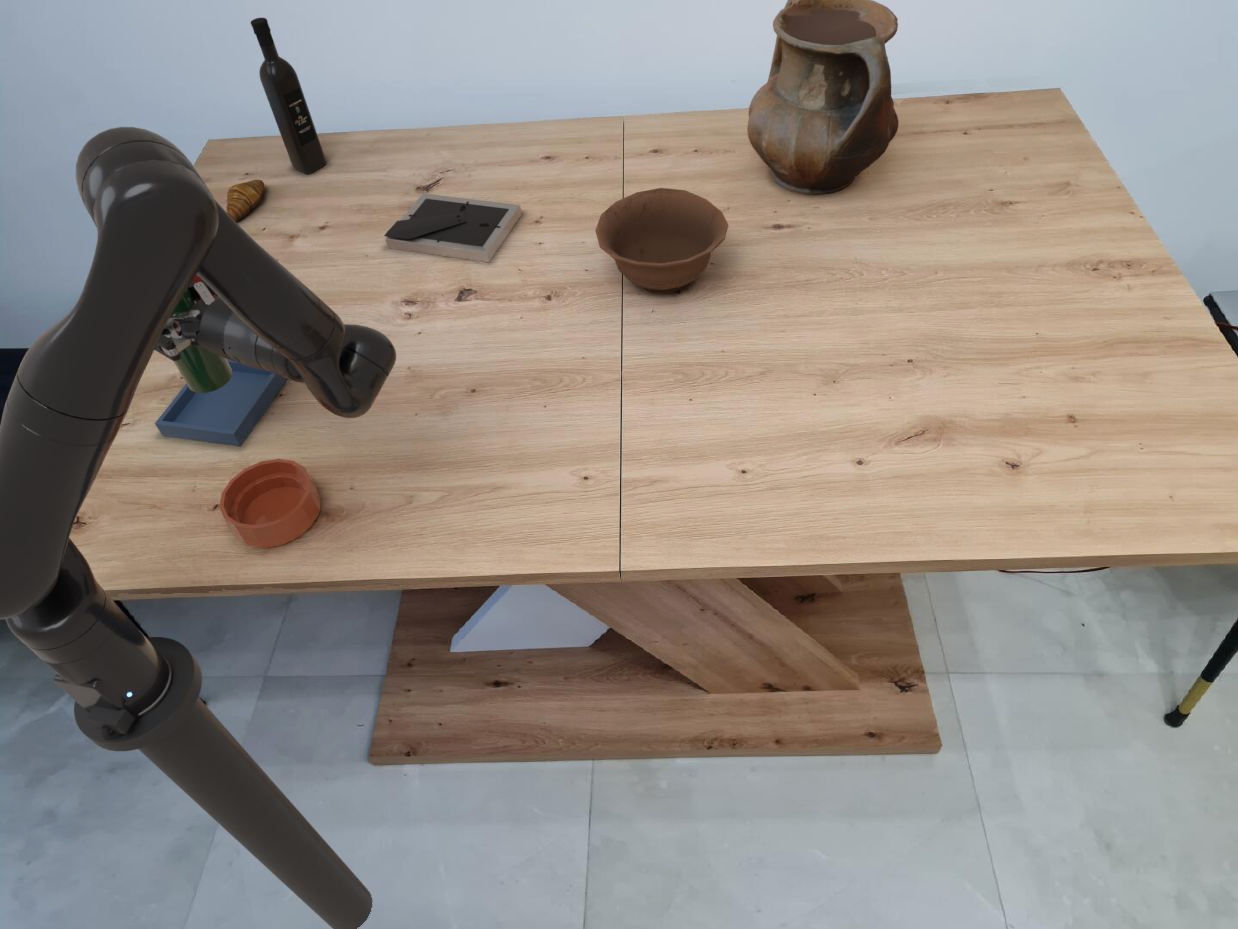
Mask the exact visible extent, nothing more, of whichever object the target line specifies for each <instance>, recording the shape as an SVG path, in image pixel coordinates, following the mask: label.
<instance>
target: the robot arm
mask: <svg viewBox="0 0 1238 929" xmlns="http://www.w3.org/2000/svg"><path fill="white" fill-rule="evenodd" d="M75 180H76V186H77V191H78V194H79V196H80V198H81V201H82V203H83V205H84V208H85V210H86V211H87V213H88V214H89V216H90V218H91V219H92V221H93V224H94V225H95V227H96V230H97V231H96V232H97V240H96V246H95V250H94V255H93V259H92V262H91V265H90V269H89V271H88V274H87V277H86V280H85V282H84V286H83V288H82V291H81V293H80V295H79V298H78V299H77V301H76V303H75V304H74V306H73V308H72V309H71V310H70V311H69V313H67V314H66V315H65V316H63V318H61V319H60V320H59V321H57V322H56V323H54V324H53V325H52V326H50V327H49V328H48V329H46V330H45V331H44V332H43V333H42V334H41V335H39V337H38V338H37V339H36V340H35V341H34V342H33V343H32V344H31V345H30V346H29V348H28V350H27V351H26V352H25V354H24V356H23V357H22V360H21V362H20V364H19V367H18V369H17V371H16V374H15V377H14V380H13V381H12V385H11V387H10V390H9V392H8V395H7V398H6V401H5V404H4V407H3V412H2V416H1V421H0V620H5V621H6V624H7V626H8V629H9V630H10V631H11V633H13V635H14V636H15V637H16V638H17V639H18V640H20V642H22V644H24V646H26V647H27V648H28V649H30V650H31V652H33V653H34V654H35V655H36V656H37V657H38V658H39V659H40V660H41V661H43V663H44V664H45V665H47V666H48V667H49V668H50V669H51V670H52V671H53V672H54V673H55V674H54V676H53V677H52V681H53V682H54V683H55V684H56V685H57V686H59V688H61V689H62V690H63V691H64V693H66V694H67V695H68V696H69V697H70V698H72V699H73V700H74V702H75V701H76V702H77V703H78V704H79V705H81V706H82V707H83V708H84V709H85V710H86V711H87V712H88V713H89V714H88V716H87V717H86V720H87V721H88V722H90V723H91V724H92V725H93V726H94V727H95V728H99V729H101V733H102V737H103V738H104V739H105V740H107V741H111V740H114V739H116V738H117V737H119V736H120V735H122V734H126V733H127V731H128V729H129V728H130V726H131V725H136V724H137V722H138V721H139V719H140V718H141V717H142V716H144V715H146V714H148V713H149V712H151V711H152V710H153V709H154V708H156V707H157V706H158V705H159V704H160V703H161V702H162V701H163V699H164V698H165V697H166V695H167V693H168V692H169V690H170V687H171V685H172V681H173V670H172V667H171V665H170V663H169V662H168V661H167V660H166V658H164V657H163V656H162V655H161V654H160V652H158V651H157V650H156V648H155V647H154V646H153V645H152V644H151V643H150V642H149V641H148V639H147V638H148V637H146V636H145V635H144V634H143V632H142V631H141V630H140V629H139V628H138V626H136V625H135V623H134V622H133V621H132V620H131V619H130V618H129V617H128V615H127V614H126V613H125V612H124V611H123V610H122V608H120V607H119V605H118V604H117V603H116V602H115V601H114V599H113V598H112V597H111V596H110V595H109V593H108V592H107V591H106V590H105V589H104V588H103V587H102V586H101V585H100V583H99V582H98V581H97V580H96V578H95V576H94V573H93V571H92V568H91V566H90V563H89V562H88V561H87V559H86V558H85V556H84V554H83V553H82V552H81V551H80V549H79V548H78V547H77V545H76V544H75V543H74V542H73V540H72V539H71V538H70V536H71V533H72V529H73V526H74V523H75V521H76V518H77V516H78V514H79V512H80V510H81V508H82V506H83V504H84V502H85V500H86V498H87V496H88V494H89V493H90V491H91V489H92V486H93V484H94V483H95V480H96V478H97V476H98V474H99V472H100V470H101V468H102V466H103V463H104V462H105V459H106V457H107V454H108V453H109V450H110V448H111V447H112V445H113V443H114V441H115V438H116V437H117V436H118V433H119V432H120V429H121V427H122V424H123V422H124V420H125V418H126V416H127V413H128V411H129V409H130V407H131V404H132V401H133V399H134V396H135V394H136V390H137V388H138V386H139V383H140V381H141V379H142V377H143V375H144V372H146V369H147V366H148V365H149V363H150V360H151V358H152V356H153V354H154V351H156V352H157V353H159V354H160V355H162V356H164V357H165V358H167V359H169V360H171V361H172V362H174V361H177V360H179V359H181V357H182V356H181V354H180V352H181V351H182V350H183V349H185V348H186V347H188V346H192V347H197V346H200V347H204V348H205V349H207V350H208V351H210V352H212V353H214V354H216V355H219V356H221V357H224V358H227V359H229V360H232V361H235V362H237V363H240V364H243V365H245V366H248V367H251V368H254V369H258V370H263V371H267V372H270V373H273V374H275V375H278V376H281V377H283V378H286V379H287V380H289V381H292V382H294V383H300V384H302V383H303V384H304V385H305V386H306V387H307V390H308V391H309V392H310V394H311V395H312V396H313V398H314V399H315V400H316V402H318V404H320V405H321V407H323V408H324V409H325V410H326V411H328V412H330V413H331V414H333V415H335V416H338V417H340V418H344V419H345V418H346V419H356V418H359V417H362V416H364V415H366V413H368V412H369V410H370V409H371V408H372V407H373V405H374V403H375V401H376V399H377V397H378V396H379V394H380V392H381V390H382V388H383V386H384V384H385V382H386V381H387V379H388V377H389V375H390V374H391V372H392V371H393V369H394V366H395V365H396V361H397V350H396V348H395V346H394V344H393V342H392V341H391V340H390V338H389V337H387V336H386V334H384V333H382V332H380V331H379V330H377V329H375V328H372V327H368V326H366V325H362V324H361V325H360V324H353V323H351V324H350V323H344V322H343V320H342V319H341V317H340V316H339V315H338V314H337V313H336V312H335V311H334V310H333V309H332V308H330V306H329V305H327V303H326V302H324V301H323V300H322V299H321V298H320V297H319V296H318V295H316V294H315V293H314V292H313V291H312V290H311V289H310V288H309V287H308V286H306V285H305V284H304V283H303V282H302V281H301V280H300V279H298V278H297V277H296V276H295V275H294V274H293V273H292V272H291V271H290V270H288V269H287V268H286V267H285V266H284V265H282V264H281V263H280V262H279V261H278V260H277V259H276V258H275V257H273V256H272V255H271V254H270V253H269V252H268V251H266V250H265V249H264V247H262V246H261V245H260V244H259V243H258V242H256V240H254V239H253V238H252V236H250V235H249V233H247V232H246V231H245V230H244V229H243V227H241V226H240V225H239V224H238V222H235V221H234V220H233V219H232V218H231V217H230V216H229V214H228V213H227V210H225V209H224V208H223V207H222V205H221V204H219V202H218V201H217V200H216V199H215V197H214V196H213V193H212V191H210V189H209V187H208V185H207V184H206V183H205V181H204V180H203V178H202V176H201V175H200V174H199V172H198V171H197V169H196V168H195V166H194V165H193V163H192V162H191V160H190V159H189V158H188V157H187V156H186V154H184V153H183V151H182V150H181V149H180V148H178V146H176V145H175V144H174V143H173V142H171V141H170V140H168V139H167V138H165V137H163V136H162V135H160V134H158V133H156V132H153V131H151V130H149V129H145V128H141V127H135V126H117V127H113V128H108V129H106V130H103V131H101V132H98V133H97V134H95V135H94V136H93V137H91V138H90V139H89V140H88V141H87V142H85V144H84V145H83V147H82V149H81V150H80V151H79V154H78V156H77V160H76V163H75ZM196 275H198V276H199V277H200V278H201V279H202V280H203V281H204V282H205V283H203V282H198V283H195V282H192V280H193V279H194V277H195V276H196ZM187 288H189V290H190V292H191V293H192V295H193V297H194V299H195V301H197V302H196V303H195V304H194V305H193V306H192V307H191V308H190V309H188V310H186V311H184V312H174V313H173V311H174V309H175V308H176V306H177V304H178V303H179V301H180V300H181V298H182V296H183V295H184V293H185V292H186V290H187ZM213 295H216V296H218V298H213ZM200 299H201V301H199V300H200ZM178 322H180V325H179V324H178ZM165 325H166V326H167V327H168V328H169V329H164V327H165ZM110 731H113V732H111V733H110Z"/></svg>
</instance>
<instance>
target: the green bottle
mask: <svg viewBox="0 0 1238 929" xmlns="http://www.w3.org/2000/svg"><path fill="white" fill-rule="evenodd" d="M195 303H196V301H195V299H194V297H193V295H192V293H191V292H190V290H189V288H187V290H186V292H185V293H184V295H183V296H182V298H181V300H180V301H179V303H178V304H177V306H176V308H175V309H174V311H173V313H174V312H184V311H186V310H188V309H190V308H191V307H192V306H193V305H194V304H195ZM178 324H179V325H180V322H178ZM164 329H169V328H168V327H167V326H166V325H165V327H164ZM180 354H181V356H182V357H181V359H179V360H177V361H173V363H174V364H175V366H176V368H177V370H178V371H179V373H180V375H181V377H182V379H183V380H184V382H185V384H186V383H187V385H188V387H189V388H190V390H192V391H194V392H196V393H208V392H212V391H215V390H217V389H219V388H221V387H223V386H224V385H225V384H226V383H228V381H229V380H230V379H231V377H232V369H231V367H230V365H229V363H228V362H227V360H226V358H224V357H221V356H219V355H216V354H214V353H212V352H210V351H208V350H207V349H205V348H204V347H200V346H197V347H192V346H188V347H186V348H185V349H183V350H182V351H181V352H180Z"/></svg>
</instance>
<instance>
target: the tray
mask: <svg viewBox="0 0 1238 929" xmlns="http://www.w3.org/2000/svg"><path fill="white" fill-rule="evenodd" d="M226 360H227V362H228V363H229V365H230V367H231V369H232V377H231V379H230V380H229V381H228V383H226V384H225V385H224V386H223V387H221V388H219V389H217V390H215V391H212V392H208V393H196V392H194V391H192V390H190V388H189V387H188V385H187V383H186V382H185V384H184V385H183V387H182V388H181V389H180V391H179V392H178V393H177V394H176V395H175V397H174V398H173V399H172V401H171V402H170V403H169V404H168V406H167V407H166V408H165V410H164V411H163V412H162V414H161V415H160V416H159V417H158V419H157V420H156V421H155V423H154V425H155V426H156V428H157V429H158V431H159V433H160V434H161V435H162V437H168V438H176V439H180V440H189V441H197V442H203V443H210V444H211V443H212V444H219V445H227V446H232V447H233V446H234V447H242V445H243V444H244V443H245V441H246V439H248V436H249V435H250V434H251V432H252V431H253V430H254V428H255V427H256V426H257V424H258V422H259V421H260V419H261V417H262V416H263V415H264V413H265V412H266V410H267V409H268V408H269V406H270V404H271V403H272V401H273V400H274V399H275V397H276V396H277V395H278V393H279V392H280V390H281V389H282V387H283V385H285V383H286V382H287V380H288V379H286V378H283V377H281V376H278V375H275V374H273V373H270V372H267V371H263V370H258V369H254V368H251V367H248V366H245V365H243V364H240V363H237V362H235V361H232V360H229V359H227V358H226Z"/></svg>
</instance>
